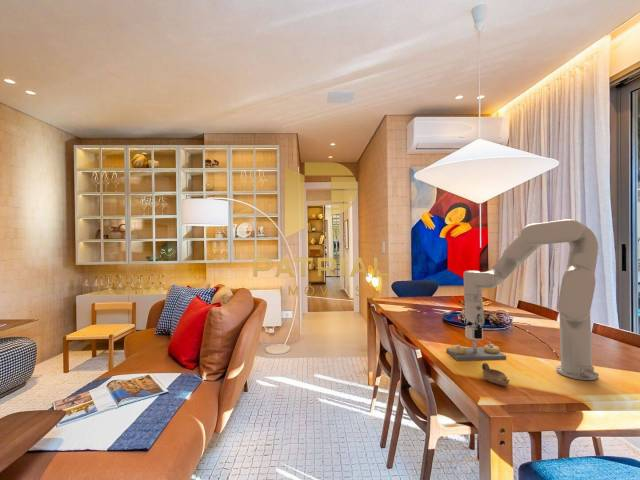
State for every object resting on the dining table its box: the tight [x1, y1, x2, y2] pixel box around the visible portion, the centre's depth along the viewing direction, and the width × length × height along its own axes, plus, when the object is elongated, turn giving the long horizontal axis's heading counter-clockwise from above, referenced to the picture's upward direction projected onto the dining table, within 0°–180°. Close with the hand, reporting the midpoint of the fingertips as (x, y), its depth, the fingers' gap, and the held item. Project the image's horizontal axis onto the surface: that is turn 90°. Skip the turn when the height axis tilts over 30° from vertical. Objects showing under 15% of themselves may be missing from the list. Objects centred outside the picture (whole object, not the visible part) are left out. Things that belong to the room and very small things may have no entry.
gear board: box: [446, 340, 507, 362], centre depth 148 cm, size 12×22×8 cm, turn 89°
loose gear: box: [464, 324, 484, 341], centre depth 149 cm, size 7×7×5 cm
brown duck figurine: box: [481, 362, 510, 387], centre depth 122 cm, size 13×8×5 cm, turn 4°
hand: (474, 335), depth 149 cm, fingers closed on loose gear, 7 cm apart
